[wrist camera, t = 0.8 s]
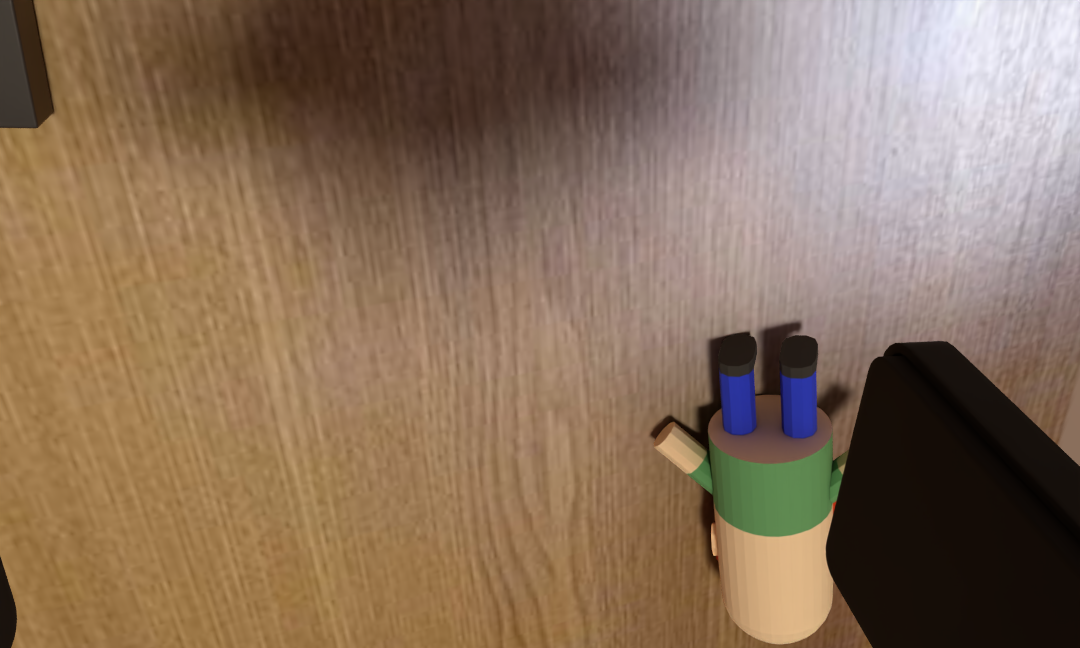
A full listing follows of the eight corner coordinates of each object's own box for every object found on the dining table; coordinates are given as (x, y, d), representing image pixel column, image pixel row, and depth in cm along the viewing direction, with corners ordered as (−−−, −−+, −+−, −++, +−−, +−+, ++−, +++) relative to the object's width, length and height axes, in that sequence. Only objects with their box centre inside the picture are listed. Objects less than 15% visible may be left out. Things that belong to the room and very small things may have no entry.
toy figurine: (657, 321, 34) (683, 571, 40) (630, 387, 31) (663, 653, 36) (898, 324, 32) (890, 592, 37) (900, 397, 28) (891, 683, 33)
